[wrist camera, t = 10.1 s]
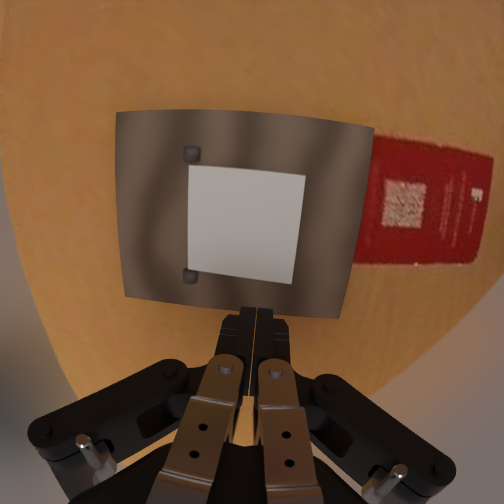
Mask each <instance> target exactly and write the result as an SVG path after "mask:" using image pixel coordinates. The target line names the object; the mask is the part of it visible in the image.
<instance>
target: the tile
mask: <svg viewBox="0 0 504 504" xmlns="http://www.w3.org/2000/svg"><path fill="white" fill-rule="evenodd" d="M305 177H306V175H302V174H294V173H286V172H277V171H268V170H258V169H248V168H236V167H224V166H210V165H194V164H191V165H189V180H188V269H190V270H196V271H203V272H209V273H216V274H223V275H229V276H236V277H243V278H250V279H257V280H264V281H271V282H278V283H286V284H291V283H292V276H293V270H294V263H295V256H296V249H297V241H298V234H299V226H300V219H301V211H302V203H303V194H304V186H305Z"/></svg>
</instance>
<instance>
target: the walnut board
mask: <svg viewBox="0 0 504 504" xmlns="http://www.w3.org/2000/svg"><path fill="white" fill-rule="evenodd" d="M373 136H374V128H371V127H366V126H360V125H355V124H349V123H343V122H337V121H331V120H324V119H317V118H310V117H302V116H293V115H284V114H273V113H261V112H247V111H228V110H148V111H129V112H116V135H115V177H116V205H117V222H118V235H119V247H120V257H121V267H122V275H123V283H124V291H125V296H126V297H132V298H139V299H145V300H152V301H159V302H167V303H174V304H182V305H190V306H198V307H207V308H215V309H225V310H234V311H240V309H241V305H246V306H256V313H257V310H258V307H269V308H273V314H277V315H290V316H303V317H318V318H335V319H339V317H340V313H341V309H342V305H343V301H344V297H345V293H346V289H347V284H348V280H349V276H350V271H351V267H352V262H353V258H354V253H355V248H356V243H357V238H358V233H359V228H360V223H361V217H362V212H363V206H364V200H365V194H366V188H367V181H368V175H369V168H370V160H371V153H372V144H373ZM191 164H194V165H210V166H224V167H236V168H248V169H258V170H268V171H277V172H286V173H294V174H302V175H306V177H305V186H304V194H303V203H302V211H301V219H300V226H299V234H298V241H297V249H296V256H295V263H294V270H293V276H292V283H291V284H286V283H278V282H271V281H264V280H257V279H250V278H243V277H236V276H229V275H223V274H216V273H209V272H203V271H196V270H190V269H188V180H189V165H191Z"/></svg>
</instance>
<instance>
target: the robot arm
mask: <svg viewBox="0 0 504 504" xmlns="http://www.w3.org/2000/svg"><path fill="white" fill-rule="evenodd" d="M255 317H256V306H246V305H241V309H240V315H231V314H229V315H228V316H227V317H226V318H225V319H224V320H223V322H222V326H221V330H220V335H219V338H218V342H217V346H216V351H215V355H214V357H213V358H211V359H210V360H209V362H208V364H206V365H204V366H201V367H196V368H187V366H186V365H185V364H184V363H183V362H181V361H179V360H176V359H164V360H161V361H159V362H157V363H155V364H153V365H151V366H149V367H147V368H145V369H143V370H141V371H139V372H137V373H135V374H133V375H131V376H129V377H127V378H125V379H123V380H121V381H119V382H117V383H114V384H112V385H110V386H108V387H106V388H104V389H102V390H100V391H98V392H95V393H93V394H91V395H89V396H87V397H85V398H82V399H80V400H78V401H76V402H74V403H72V404H70V405H67V406H65V407H63V408H60V409H58V410H56V411H54V412H51V413H49V414H46V415H44V416H42V417H40V418H37V419H35V420H34V421H33V422H32V423H31V424H30V425H29V427H28V432H27V434H28V438H29V441H30V442H31V443H32V445H33V446H34V447H35V449H36V450H37V451H38V453H39V455H40V456H41V457H42V458H43V460H44V461H45V462H46V463H47V464H48V465H49V467H50V468H51V470H52V472H53V473H54V475H55V477H56V479H57V480H58V482H59V484H60V486H61V488H62V489H63V491H64V493H65V494H66V496H67V497H68V499H69V501H70V502H69V503H68V504H425V503H426V502H427V501H429V500H430V499H432V498H433V497H434V496H435V495H437V494H438V493H439V492H440V491H441V490H443V489H444V488H445V487H446V486H447V485H449V484H450V483H451V482H452V481H453V479H454V478H455V475H456V466H455V464H454V462H453V461H452V460H451V459H450V458H449V457H448V456H446V455H445V454H443V453H442V452H440V451H439V450H438V449H436V448H435V447H434V446H432V445H431V444H429V443H428V442H426V441H425V440H424V439H422V438H421V437H419V436H418V435H417V434H415V433H414V432H412V431H411V430H410V429H408V428H407V427H406V426H404V425H403V424H402V423H400V422H399V421H397V420H396V419H395V418H393V417H392V416H391V415H389V414H388V413H387V412H385V411H384V410H382V409H381V408H380V407H379V406H377V405H376V404H375V403H373V402H372V401H371V400H369V399H368V398H367V397H365V396H364V395H363V394H362V393H360V392H359V391H358V390H356V389H355V388H354V387H352V386H351V385H350V384H349V383H347V382H346V381H345V380H343V379H342V378H341V377H339V376H337V375H333V374H322V375H319V376H317V377H316V378H315V379H314V380H313V379H310V378H306V377H303V376H301V375H299V374H298V373H296V372H295V371H294V370H293V368H292V366H291V363H290V345H289V328H288V325H287V324H286V322H285V321H284V319H274V318H273V308H269V307H258V310H257V320H256V330H255V340H254V351H253V362H252V373H251V384H250V395H249V396H254V405H253V446H245V447H244V446H239V445H236V444H233V440H234V435H235V431H236V426H237V422H238V417H239V413H240V407H241V405H242V401H243V396H248V389H249V380H250V370H251V360H252V350H253V339H254V328H255ZM177 428H178V431H177V433H176V436H175V438H174V441H173V442H172V443H168V444H166V445H163V446H161V447H159V448H157V449H155V450H154V451H152V452H150V453H149V454H147V455H146V456H144V457H143V458H141V459H139V460H138V461H136V462H135V463H133V464H131V465H130V466H128V467H126V468H125V469H123V470H121V471H120V472H118V473H117V474H115V473H116V470H117V463H119V462H121V461H123V460H125V459H126V458H128V457H130V456H132V455H134V454H135V453H137V452H139V451H141V450H142V449H144V448H146V447H148V446H149V445H151V444H153V443H154V442H156V441H158V440H159V439H161V438H163V437H164V436H166V435H168V434H169V433H171V432H173V431H174V430H176V429H177ZM310 441H311V442H312V443H313V444H314V445H315V446H316V447H317V448H318V449H320V450H321V451H322V452H323V453H324V454H325V455H326V456H327V457H328V458H329V459H331V460H332V461H333V462H334V463H335V464H336V465H337V466H338V467H339V468H341V469H342V470H343V471H344V472H345V473H346V474H348V475H349V476H350V477H351V478H352V479H353V480H354V481H356V482H357V483H358V484H359V485H360V486H362V490H361V495H362V497H361V496H360V495H359V494H358V493H357V492H356V491H355V490H353V489H352V488H351V487H350V486H349V485H348V484H347V483H346V482H345V481H344V480H343V479H341V477H339V476H338V475H337V474H336V473H335V472H334V471H333V470H332V469H331V468H330V467H329V466H328V465H327V464H326V463H324V462H323V461H322V460H320V459H319V458H317V457H315V456H313V453H312V448H311V442H310Z"/></svg>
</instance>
